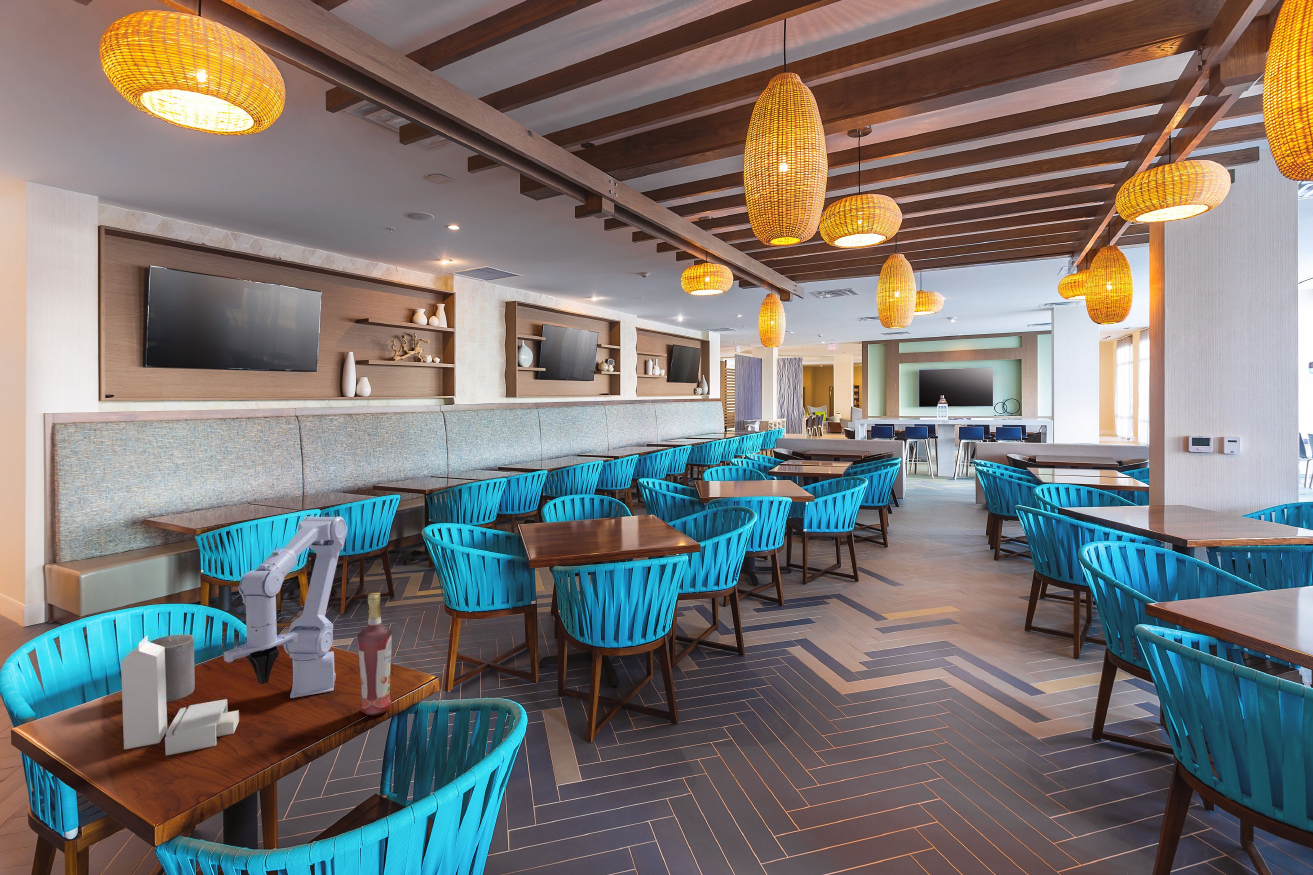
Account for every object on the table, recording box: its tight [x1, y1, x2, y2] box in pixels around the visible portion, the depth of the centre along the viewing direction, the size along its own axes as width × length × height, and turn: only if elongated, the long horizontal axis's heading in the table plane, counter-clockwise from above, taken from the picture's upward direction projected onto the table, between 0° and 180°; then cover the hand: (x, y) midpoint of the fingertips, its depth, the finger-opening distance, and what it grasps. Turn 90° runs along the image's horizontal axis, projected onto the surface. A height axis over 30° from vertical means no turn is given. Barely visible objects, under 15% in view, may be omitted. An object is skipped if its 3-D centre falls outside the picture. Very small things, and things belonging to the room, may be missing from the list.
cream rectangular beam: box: [216, 709, 240, 738], centre depth 135 cm, size 10×6×2 cm, turn 115°
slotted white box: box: [164, 698, 229, 756], centre depth 133 cm, size 8×13×4 cm, turn 26°
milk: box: [120, 635, 168, 750], centre depth 131 cm, size 6×6×22 cm
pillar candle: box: [149, 634, 196, 703], centre depth 152 cm, size 10×10×15 cm
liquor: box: [357, 592, 393, 717], centre depth 143 cm, size 7×7×28 cm
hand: (263, 682), depth 138 cm, fingers closed
